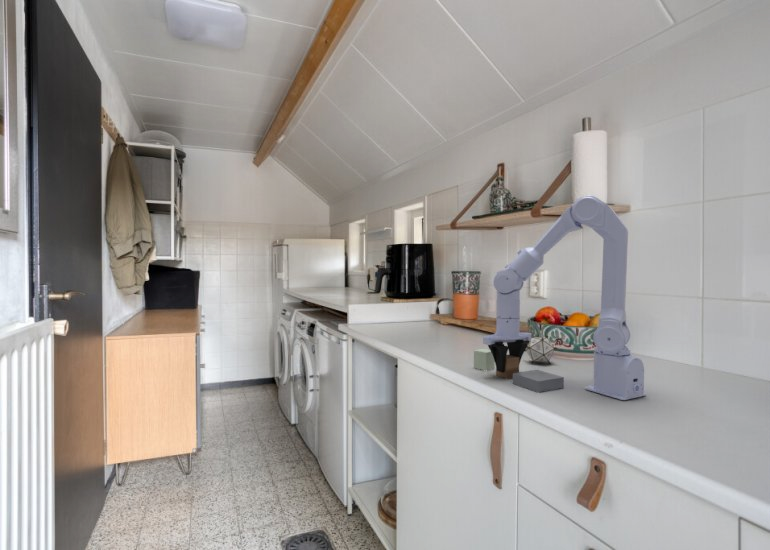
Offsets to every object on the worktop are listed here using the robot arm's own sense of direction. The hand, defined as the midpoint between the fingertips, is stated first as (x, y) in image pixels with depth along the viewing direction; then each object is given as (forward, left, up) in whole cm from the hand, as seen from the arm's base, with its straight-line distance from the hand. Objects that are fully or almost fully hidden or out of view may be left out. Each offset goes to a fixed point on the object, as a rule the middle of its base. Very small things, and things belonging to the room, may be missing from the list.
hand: (507, 370), depth 109 cm
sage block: (+9, 0, -2) cm, 9 cm away
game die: (+7, -19, -2) cm, 20 cm away
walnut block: (0, 0, -1) cm, 1 cm away
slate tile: (-10, 0, -1) cm, 10 cm away
